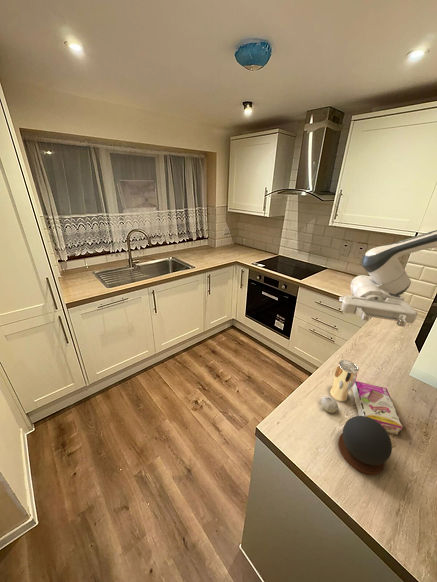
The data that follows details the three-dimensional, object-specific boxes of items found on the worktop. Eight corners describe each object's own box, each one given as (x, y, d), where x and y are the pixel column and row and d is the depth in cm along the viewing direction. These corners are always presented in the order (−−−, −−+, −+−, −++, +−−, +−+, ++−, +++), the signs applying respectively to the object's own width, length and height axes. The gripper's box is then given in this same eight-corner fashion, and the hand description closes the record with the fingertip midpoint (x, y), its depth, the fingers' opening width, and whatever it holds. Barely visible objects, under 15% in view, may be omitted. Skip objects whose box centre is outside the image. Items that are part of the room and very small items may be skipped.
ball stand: (375, 441, 74) (389, 413, 68) (388, 483, 64) (406, 454, 58) (334, 429, 77) (345, 402, 72) (340, 468, 67) (353, 439, 61)
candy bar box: (387, 387, 88) (404, 427, 73) (382, 396, 90) (398, 437, 76) (354, 379, 90) (364, 416, 76) (350, 388, 93) (360, 426, 78)
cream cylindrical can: (324, 394, 90) (334, 364, 83) (333, 385, 94) (343, 356, 87) (343, 407, 85) (354, 376, 78) (351, 397, 89) (363, 367, 83)
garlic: (316, 408, 84) (319, 398, 82) (321, 399, 88) (324, 389, 86) (333, 419, 81) (337, 408, 78) (338, 408, 84) (342, 398, 82)
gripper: (340, 287, 81) (347, 305, 69) (408, 297, 76) (429, 318, 64) (336, 303, 84) (342, 323, 72) (401, 313, 79) (420, 337, 67)
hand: (384, 321), depth 68 cm, fingers open, 8 cm apart
